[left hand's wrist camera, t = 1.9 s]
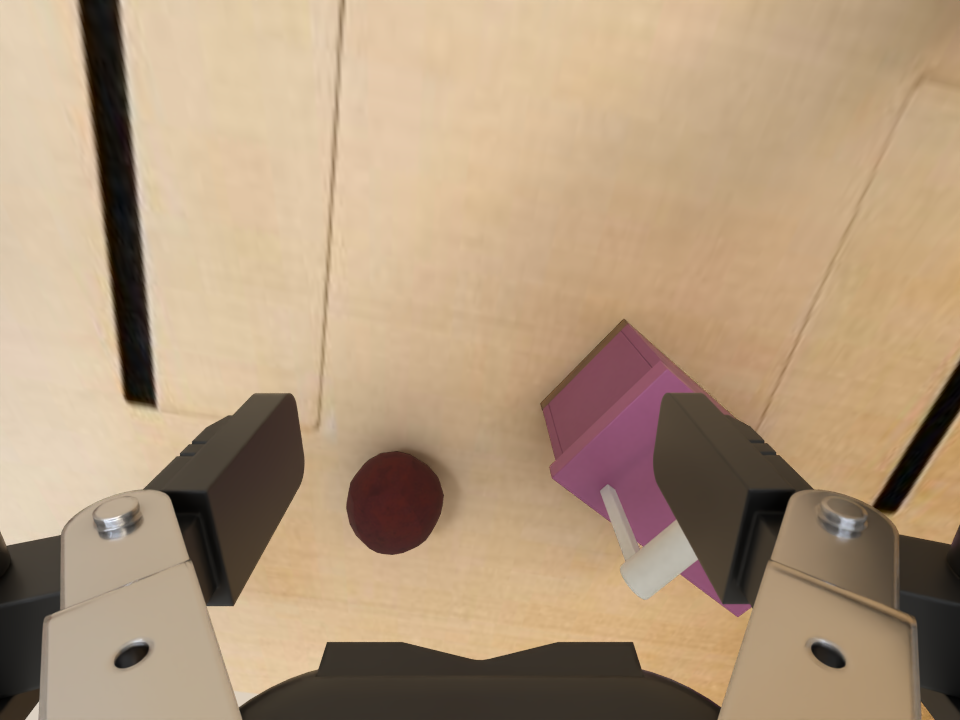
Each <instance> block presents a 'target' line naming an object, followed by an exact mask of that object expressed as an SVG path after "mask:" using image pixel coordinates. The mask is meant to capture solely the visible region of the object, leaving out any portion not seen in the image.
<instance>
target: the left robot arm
mask: <svg viewBox="0 0 960 720" xmlns="http://www.w3.org/2000/svg"><path fill="white" fill-rule="evenodd" d="M653 470H654V476H655V480H656V483H657V485H658V487H659V489H660V491H661V492H662V494H663V496H664V498H665V500H666V502H667V503H668V505H669V507H670V509H671V511H672V513H673V514H674V516H675V518H676V520H677V522H678V524H679V525H680V527H681V529H682V531H683V533H684V535H685V536H686V538H687V540H688V542H689V544H690V546H691V547H692V549H693V551H694V553H695V555H696V557H697V558H698V560H699V562H700V564H701V566H702V568H703V569H704V571H705V573H706V575H707V577H708V579H709V580H710V582H711V584H712V586H713V588H714V590H715V591H716V593H717V595H718V597H719V599H720V601H721V602H722V604H750V605H751V607H752V608H753V610H752V613H751V616H750V619H749V622H748V626H747V629H746V632H745V635H744V638H743V641H742V644H741V648H740V651H739V654H738V657H737V660H736V663H735V666H734V670H733V673H732V676H731V679H730V682H729V685H728V688H727V692H726V695H725V698H724V701H723V704H722V707H720V706H718V705H717V704H715V703H714V702H713V701H711V700H710V699H708V698H706V697H705V696H703V695H701V694H700V693H698V692H696V691H694V690H693V689H691V688H689V687H687V686H685V685H683V684H681V683H678V682H676V681H674V680H672V679H670V678H667V677H664V676H661V675H658V674H655V673H653V672H649V671H645V670H642V669H641V666H640V663H639V660H638V657H637V654H636V650H635V647H634V644H633V642H557V643H552V644H548V645H544V646H540V647H536V648H532V649H528V650H524V651H520V652H516V653H512V654H508V655H504V656H500V657H495V658H491V659H487V660H473V659H469V658H465V657H460V656H456V655H452V654H448V653H444V652H440V651H436V650H432V649H428V648H424V647H420V646H416V645H412V644H408V643H403V642H327V644H326V647H325V650H324V654H323V657H322V660H321V663H320V666H319V669H318V670H315V671H311V672H307V673H305V674H302V675H299V676H296V677H293V678H290V679H288V680H286V681H284V682H282V683H279V684H277V685H275V686H273V687H271V688H269V689H267V690H266V691H264V692H262V693H260V694H259V695H257V696H255V697H254V698H252V699H250V700H249V701H247V702H246V703H245V704H243V705H242V706H240V707H238V704H237V701H236V698H235V695H234V692H233V688H232V685H231V682H230V679H229V676H228V673H227V670H226V666H225V663H224V660H223V657H222V654H221V651H220V648H219V644H218V641H217V638H216V635H215V632H214V629H213V626H212V622H211V619H210V616H209V613H208V610H207V607H206V606H234V604H235V602H236V601H237V599H238V597H239V595H240V593H241V592H242V590H243V588H244V586H245V584H246V583H247V581H248V579H249V577H250V575H251V573H252V572H253V570H254V568H255V566H256V564H257V563H258V561H259V559H260V557H261V555H262V554H263V552H264V550H265V548H266V546H267V545H268V543H269V541H270V539H271V537H272V535H273V534H274V532H275V530H276V528H277V526H278V525H279V523H280V521H281V519H282V517H283V516H284V514H285V512H286V510H287V508H288V507H289V505H290V503H291V501H292V499H293V497H294V496H295V494H296V492H297V490H298V488H299V487H300V484H301V482H302V478H303V474H304V452H303V445H302V438H301V431H300V425H299V418H298V411H297V405H296V401H295V398H294V396H293V395H292V394H290V393H255V394H253V395H252V396H251V397H250V398H249V399H248V400H247V401H246V402H245V403H244V404H243V405H242V406H241V407H240V408H239V409H238V410H237V412H236V413H235V414H234V415H233V416H227V417H225V418H223V419H221V420H219V421H218V422H216V423H214V424H212V425H210V426H208V427H206V428H205V429H204V430H203V431H202V432H201V433H200V434H199V435H198V436H197V437H196V438H195V439H194V440H193V441H192V444H189V445H188V446H187V447H186V448H185V449H184V450H183V451H182V452H181V453H180V456H177V457H176V458H175V459H174V460H173V461H172V462H171V463H170V464H169V465H168V466H167V467H166V468H165V469H164V470H162V471H161V472H160V473H159V474H158V475H157V476H156V477H155V478H154V479H153V480H152V481H151V482H150V483H149V484H148V485H147V486H146V487H145V488H144V489H143V490H134V491H129V492H124V493H120V494H116V495H113V496H110V497H107V498H105V499H102V500H100V501H98V502H96V503H94V504H92V505H90V506H88V507H86V508H85V509H83V510H82V511H80V512H79V513H77V514H76V515H75V516H74V517H73V518H71V519H70V520H69V521H68V523H67V524H66V525H65V526H64V528H63V530H62V533H61V535H59V536H54V537H49V538H44V539H39V540H34V541H29V542H24V543H19V544H13V545H8V546H6V544H5V542H4V539H3V537H2V535H1V532H0V720H25V719H26V718H27V716H28V715H29V714H30V712H31V711H32V710H33V708H34V707H35V706H36V704H37V703H38V702H39V720H921V702H922V703H923V704H924V706H925V707H926V708H927V710H928V711H929V712H930V714H931V715H932V716H933V718H934V719H935V720H960V525H959V528H958V530H957V533H956V535H955V537H954V540H953V542H952V544H951V545H950V544H945V543H940V542H935V541H930V540H925V539H920V538H914V537H909V536H904V535H899V533H898V530H897V528H896V526H895V525H894V524H893V523H892V521H891V520H890V519H889V518H887V517H886V516H885V515H884V514H883V513H881V512H880V511H878V510H877V509H875V508H874V507H872V506H870V505H868V504H866V503H864V502H862V501H860V500H858V499H855V498H853V497H850V496H847V495H844V494H840V493H836V492H831V491H826V490H814V489H813V488H812V487H811V486H810V485H809V484H808V483H807V482H806V481H805V480H804V479H803V478H802V477H801V476H800V475H799V474H798V473H797V472H796V471H795V470H794V469H793V468H792V467H791V466H790V465H789V464H788V463H787V462H786V461H785V460H784V459H782V458H781V457H780V456H779V455H776V452H775V451H774V450H773V449H772V448H771V447H770V446H769V445H768V444H767V443H764V440H763V439H762V438H761V437H760V436H759V435H758V434H757V433H756V432H755V431H754V430H753V429H752V428H751V427H750V426H748V425H746V424H744V423H743V422H741V421H739V420H737V419H735V418H733V417H732V416H730V415H724V414H723V413H722V412H721V411H720V410H719V409H718V408H717V407H716V406H715V405H714V404H713V403H712V402H711V401H710V400H709V399H708V397H707V396H706V395H705V394H703V393H665V394H664V396H663V398H662V401H661V405H660V412H659V419H658V426H657V433H656V440H655V447H654V453H653Z"/></svg>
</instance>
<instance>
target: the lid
mask: <svg viewBox="0 0 960 720" xmlns="http://www.w3.org/2000/svg"><path fill="white" fill-rule="evenodd" d="M665 393H697V392H695V391H694V390H693V389H692V388H691V387H690V386H689V385H687V384H686V383H685V382H684V381H683V380H682V379H681V378H680V377H678V376H677V375H676V374H675V373H674V372H673V371H672V370H670V369H669V368H668V367H667V366H666V365H665V364H664V363H663V362H661V361H659V362H658V363H657V364H656V365H655V366H654V367H653V368H652V369H651V370H650V371H648V372H647V373H646V374H645V375H644V376H643V377H642V378H641V379H640V380H639V381H638V382H637V383H636V384H635V385H634V386H633V387H632V388H631V389H630V390H629V391H628V392H627V393H626V394H624V395H623V396H622V397H621V398H620V399H619V400H618V401H617V402H616V403H615V404H614V405H613V406H612V407H611V408H610V409H609V410H608V411H607V412H606V413H605V414H604V415H603V416H601V417H600V418H599V419H598V420H597V421H596V422H595V423H594V424H593V425H592V426H591V427H590V428H589V429H588V430H587V431H586V432H585V433H584V434H583V435H582V436H581V437H580V438H579V439H577V440H576V441H575V442H574V443H573V444H572V445H571V446H570V447H569V448H568V449H567V450H566V451H565V452H564V453H563V454H562V455H561V456H560V457H559V458H558V459H557V460H556V461H555V462H553V463H552V464H551V465H550V467H549V468H550V472H551V476H552V479H554V480H555V481H556V482H558V483H559V484H560V485H562V486H563V487H564V488H566V489H567V490H568V491H570V492H571V493H572V494H574V495H575V496H576V497H578V498H579V499H580V500H582V501H583V502H584V503H586V504H587V505H588V506H590V507H591V508H592V509H594V510H595V511H596V512H598V513H599V514H600V515H602V516H603V517H604V518H606V519H607V520H608V521H610V522H611V523H612V526H613V529H614V531H615V534H616V537H617V539H618V542H619V545H620V548H621V550H622V553H623V556H624V559H625V561H626V562H625V563H623V564H622V565H621V567H620V572H621V574H622V577H623V579H624V580H625V582H626V583H627V585H628V586H629V588H630V589H631V590H632V591H633V592H634V593H635V594H636V595H637V596H639V597H640V598H642V599H644V600H646V599H649V598H650V597H651V596H653V595H654V594H655V593H656V592H658V591H659V590H660V589H661V588H663V587H664V586H665V585H666V584H668V583H669V582H670V581H672V580H673V579H674V578H675V577H677V576H678V575H679V574H681V575H682V576H683V577H685V578H686V579H687V580H689V581H690V582H691V583H693V584H694V585H695V586H697V587H698V588H699V589H701V590H702V591H703V592H705V593H706V594H707V595H709V596H710V597H711V598H713V599H714V600H715V601H717V602H718V603H719V604H721V605H722V606H723V607H725V608H726V609H727V610H729V611H730V612H731V613H733V614H734V615H735V616H737V617H739V616H740V615H742V614H743V613H744V612H746V611H747V610H748V609H750V608H751V605H750V604H722V602H721V601H720V599H719V597H718V595H717V593H716V591H715V590H714V588H713V586H712V584H711V582H710V580H709V579H708V577H707V575H706V573H705V571H704V569H703V568H702V566H701V564H700V562H699V560H698V558H697V557H696V555H695V553H694V551H693V549H692V547H691V546H690V544H689V542H688V540H687V538H686V536H685V535H684V533H683V531H682V529H681V527H680V525H679V524H678V522H677V520H676V518H675V516H674V514H673V513H672V511H671V509H670V507H669V505H668V503H667V502H666V500H665V498H664V496H663V494H662V492H661V491H660V489H659V487H658V485H657V483H656V480H655V476H654V470H653V453H654V447H655V440H656V433H657V426H658V419H659V412H660V405H661V401H662V398H663V396H664V394H665ZM637 542H638V543H639V544H641V545H642V546H643V548H641V549H640V548H639V546H638V543H637Z"/></svg>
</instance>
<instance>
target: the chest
mask: <svg viewBox="0 0 960 720" xmlns="http://www.w3.org/2000/svg"><path fill="white" fill-rule="evenodd" d="M659 361H661V362H663V363H664V364H665V365H666V366H667V367H668V368H669V369H670V370H672V371H673V372H674V373H675V374H676V375H677V376H678V377H680V378H681V379H682V380H683V381H684V382H685V383H686V384H687V385H689V386H690V387H691V388H692V389H693V390H694V391H695V392H697V393H703V394H705V395H706V396H707V397H708V399H709V400H710V401H711V402H712V403H713V404H714V405H715V406H716V407H717V408H718V409H719V410H720V411H721V412H722V413H723V414H724V415H730V416H732V417H733V418H735V417H734V416H733V415H732V414H730V413H729V412H728V411H727V410H726V409H725V408H724V407H723V406H721V405H720V404H719V403H718V402H717V401H716V400H715V399H714V398H712V397H711V396H710V395H709V394H708V393H707V392H706V391H705V390H703V389H702V388H701V387H700V386H699V385H698V384H697V383H696V382H694V381H693V380H692V379H691V378H690V377H689V376H688V375H687V374H685V373H684V372H683V371H682V370H681V369H680V368H679V367H678V366H676V365H675V364H674V363H673V362H672V361H671V360H670V359H669V358H667V357H666V356H665V355H664V354H663V353H662V352H661V351H660V350H658V349H657V348H656V347H655V346H654V345H653V344H652V343H651V342H649V341H648V340H647V339H646V338H645V337H644V336H643V335H642V334H640V333H639V332H638V331H637V330H636V329H635V328H634V327H633V326H631V325H630V324H629V323H628V322H627V321H626V320H625V319H623V320H622V321H621V322H620V323H619V324H618V325H617V326H616V327H615V328H614V329H613V330H612V331H611V332H610V333H609V334H608V335H607V336H606V337H605V339H604V340H603V341H602V342H601V343H600V344H599V345H598V346H597V347H596V348H595V349H594V350H593V351H592V352H591V353H590V354H589V355H588V356H587V357H586V358H585V359H584V360H583V361H582V362H581V363H580V364H579V365H578V366H577V367H576V368H575V369H574V370H573V371H572V372H571V373H570V374H569V375H568V376H567V377H566V378H565V379H564V380H563V381H562V382H561V383H560V384H559V385H558V386H557V387H556V388H555V389H554V390H553V391H552V392H551V393H550V394H549V395H548V396H547V397H546V398H545V399H544V400H543V401H542V402H541V407H542V410H543V413H544V417H545V421H546V425H547V429H548V433H549V436H550V440H551V444H552V448H553V452H554V456H555V460H557V459H558V458H559V457H560V456H561V455H562V454H563V453H564V452H565V451H566V450H567V449H568V448H569V447H570V446H571V445H572V444H573V443H574V442H575V441H576V440H577V439H579V438H580V437H581V436H582V435H583V434H584V433H585V432H586V431H587V430H588V429H589V428H590V427H591V426H592V425H593V424H594V423H595V422H596V421H597V420H598V419H599V418H600V417H601V416H603V415H604V414H605V413H606V412H607V411H608V410H609V409H610V408H611V407H612V406H613V405H614V404H615V403H616V402H617V401H618V400H619V399H620V398H621V397H622V396H623V395H624V394H626V393H627V392H628V391H629V390H630V389H631V388H632V387H633V386H634V385H635V384H636V383H637V382H638V381H639V380H640V379H641V378H642V377H643V376H644V375H645V374H646V373H647V372H648V371H650V370H651V369H652V368H653V367H654V366H655V365H656V364H657V363H658V362H659ZM735 419H736V418H735Z"/></svg>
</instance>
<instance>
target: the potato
mask: <svg viewBox="0 0 960 720" xmlns="http://www.w3.org/2000/svg"><path fill="white" fill-rule="evenodd" d="M443 497H444V495H443V491H442V488H441V484H440V481H439V479H438V477H437V476H436V474H435V473H434V472H433V471H432V470H431V469H430V467H429V466H428V465H426V464H425V463H423V462H421V461H420V460H418V459H417V458H415V457H413V456H412V455H410V454H406V453H402V452H397V451H396V452H387V453H380V454H379V455H377V456H375V457H373V458H371V459H369V460H368V461H367V462H366V463H365V464H364V465H363V466H362V468H361V469H360V470H359V471H358V473H357V474H356V475H355V476H354V478H353V480H352V481H351V483H350V488H349V493H348V498H347V506H346V509H347V514H348V518H349V522H350V525H351V527H352V529H353V531H354V533H355V534H356V536H357V537H358V538H359V539H360V540H361V541H362V542H363V543H364V544H365V545H366V546H367V547H368V548H369V549H371V550H373V551H375V552H377V553H381V554H390V555H394V554H399V553H404V552H406V551H409V550H411V549H413V548H415V547H417V546H419V545H420V544H422V543H423V542H424V541H425V540H426V539H427V538H428V536H429V535H430V533H431V532H432V530H433V528H434V527H435V525H436V523H437V521H438V519H439V516H440V514H441V510H442V505H443Z"/></svg>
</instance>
